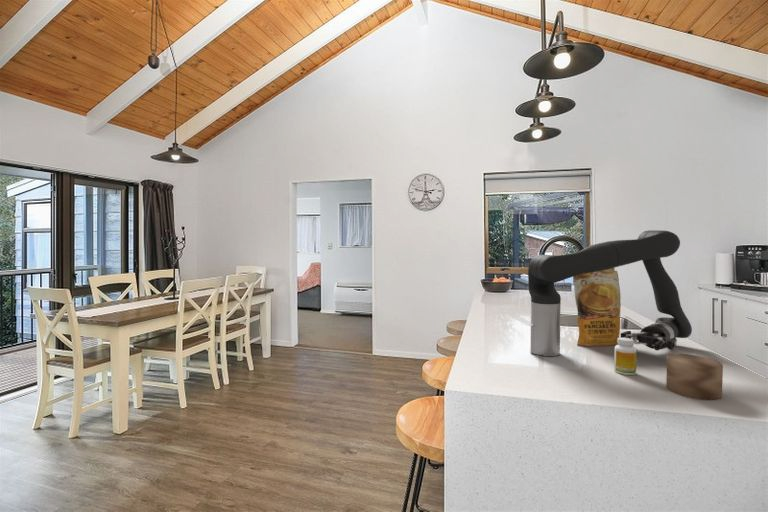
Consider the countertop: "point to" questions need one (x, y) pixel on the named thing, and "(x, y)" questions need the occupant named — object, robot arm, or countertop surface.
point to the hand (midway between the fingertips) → (639, 344)
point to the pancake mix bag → (598, 307)
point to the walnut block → (694, 376)
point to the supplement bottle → (625, 357)
